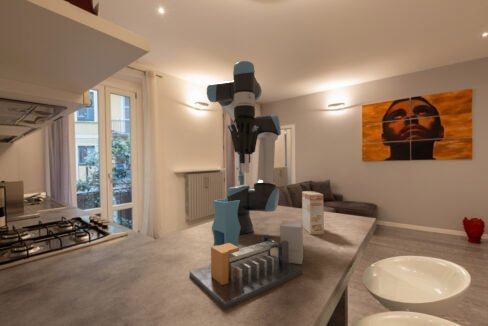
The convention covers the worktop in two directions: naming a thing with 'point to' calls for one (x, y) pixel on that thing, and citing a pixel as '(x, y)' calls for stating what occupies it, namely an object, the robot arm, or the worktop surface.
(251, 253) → the strap
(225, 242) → the vase
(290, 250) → the supplement box
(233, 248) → the lug slider
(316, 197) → the coffeecake box
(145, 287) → the worktop surface
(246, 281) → the heatsink
